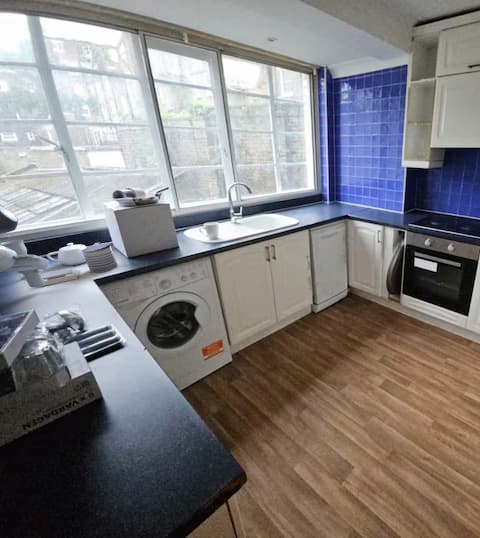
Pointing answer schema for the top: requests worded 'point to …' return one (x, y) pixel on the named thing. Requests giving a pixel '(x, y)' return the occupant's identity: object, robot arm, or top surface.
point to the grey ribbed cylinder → (100, 258)
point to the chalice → (16, 247)
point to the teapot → (70, 254)
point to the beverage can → (33, 278)
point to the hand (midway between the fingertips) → (32, 271)
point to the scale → (60, 276)
